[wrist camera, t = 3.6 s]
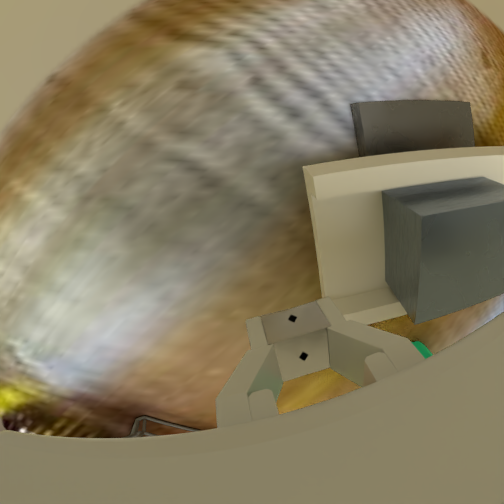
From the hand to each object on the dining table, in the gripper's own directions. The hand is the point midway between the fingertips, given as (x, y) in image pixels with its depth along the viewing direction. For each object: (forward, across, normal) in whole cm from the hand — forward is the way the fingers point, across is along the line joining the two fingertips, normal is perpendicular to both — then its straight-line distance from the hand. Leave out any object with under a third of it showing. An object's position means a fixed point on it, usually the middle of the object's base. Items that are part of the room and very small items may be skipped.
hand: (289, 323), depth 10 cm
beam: (+4, -15, 0) cm, 15 cm away
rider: (+3, -10, 0) cm, 10 cm away
